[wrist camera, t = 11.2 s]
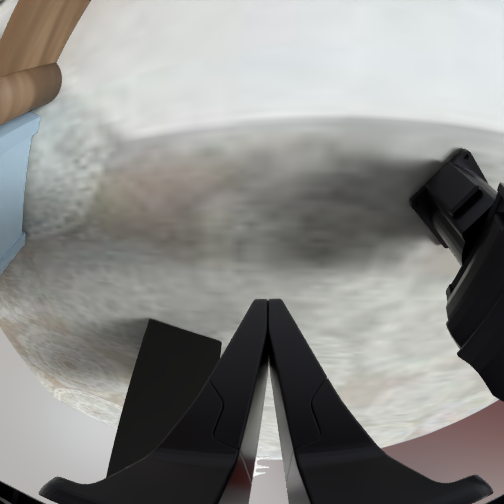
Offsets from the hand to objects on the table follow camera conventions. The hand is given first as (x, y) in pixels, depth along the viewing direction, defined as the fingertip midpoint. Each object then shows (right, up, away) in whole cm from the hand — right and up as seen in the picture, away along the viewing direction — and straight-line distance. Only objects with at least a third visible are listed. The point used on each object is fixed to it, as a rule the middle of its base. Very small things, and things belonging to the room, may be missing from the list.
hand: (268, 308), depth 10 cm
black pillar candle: (-9, -9, +23) cm, 26 cm away
